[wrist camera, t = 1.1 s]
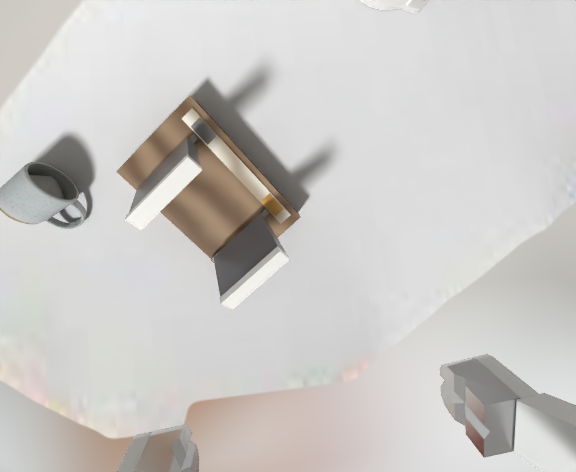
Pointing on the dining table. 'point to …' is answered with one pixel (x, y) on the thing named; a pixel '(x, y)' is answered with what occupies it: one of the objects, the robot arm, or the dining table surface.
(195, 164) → the lever slate
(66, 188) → the ceramic mug
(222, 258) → the grey board
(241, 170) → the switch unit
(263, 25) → the dining table surface
